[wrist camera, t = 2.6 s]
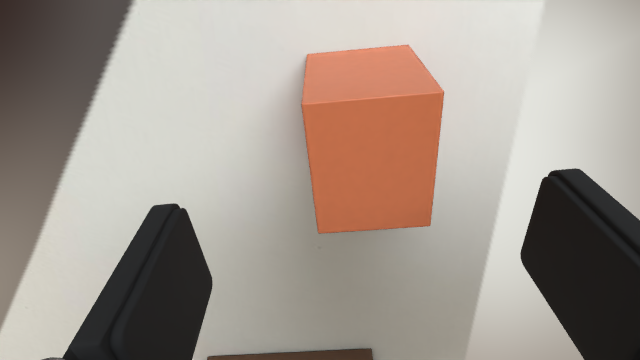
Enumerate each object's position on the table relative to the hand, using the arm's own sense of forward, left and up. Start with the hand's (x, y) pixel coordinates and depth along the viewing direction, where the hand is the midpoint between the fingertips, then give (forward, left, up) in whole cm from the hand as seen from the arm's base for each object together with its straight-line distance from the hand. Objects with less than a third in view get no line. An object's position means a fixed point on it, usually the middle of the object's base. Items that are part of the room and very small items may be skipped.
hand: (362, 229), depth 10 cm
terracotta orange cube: (-1, 0, -7) cm, 7 cm away
